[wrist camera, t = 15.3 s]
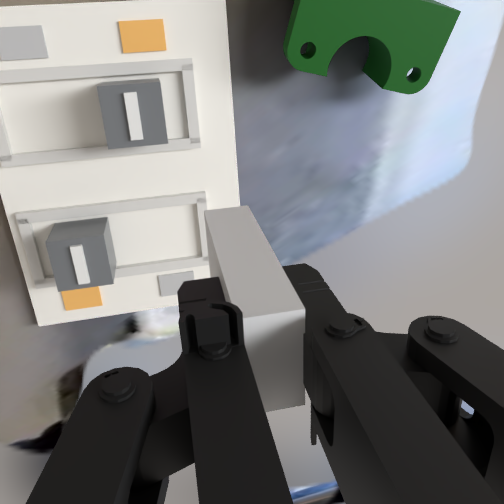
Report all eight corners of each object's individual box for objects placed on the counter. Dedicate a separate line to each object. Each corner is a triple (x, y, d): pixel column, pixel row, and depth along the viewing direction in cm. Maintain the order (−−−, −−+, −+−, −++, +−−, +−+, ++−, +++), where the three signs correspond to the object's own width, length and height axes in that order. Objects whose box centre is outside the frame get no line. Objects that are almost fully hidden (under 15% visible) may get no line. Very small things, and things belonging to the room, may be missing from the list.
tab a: (101, 82, 33) (96, 86, 29) (158, 78, 34) (160, 81, 30) (112, 138, 35) (107, 150, 31) (166, 133, 35) (168, 144, 32)
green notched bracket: (282, 40, 40) (258, 59, 32) (303, -40, 36) (282, -40, 29) (418, 83, 39) (425, 113, 31) (452, 5, 36) (470, 18, 28)
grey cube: (55, 223, 36) (44, 243, 32) (107, 216, 37) (103, 236, 33) (66, 268, 38) (57, 293, 34) (116, 262, 39) (113, 285, 35)
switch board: (-48, 10, 31) (-57, 8, 29) (223, -3, 34) (226, -5, 32) (41, 320, 40) (37, 330, 39) (244, 289, 43) (247, 297, 42)
